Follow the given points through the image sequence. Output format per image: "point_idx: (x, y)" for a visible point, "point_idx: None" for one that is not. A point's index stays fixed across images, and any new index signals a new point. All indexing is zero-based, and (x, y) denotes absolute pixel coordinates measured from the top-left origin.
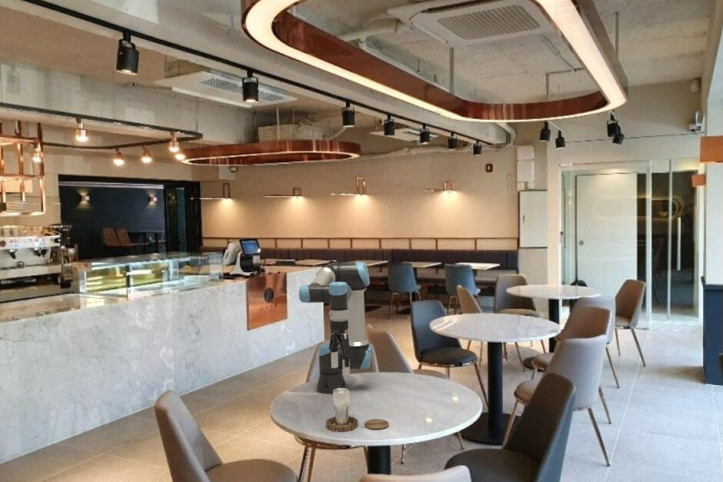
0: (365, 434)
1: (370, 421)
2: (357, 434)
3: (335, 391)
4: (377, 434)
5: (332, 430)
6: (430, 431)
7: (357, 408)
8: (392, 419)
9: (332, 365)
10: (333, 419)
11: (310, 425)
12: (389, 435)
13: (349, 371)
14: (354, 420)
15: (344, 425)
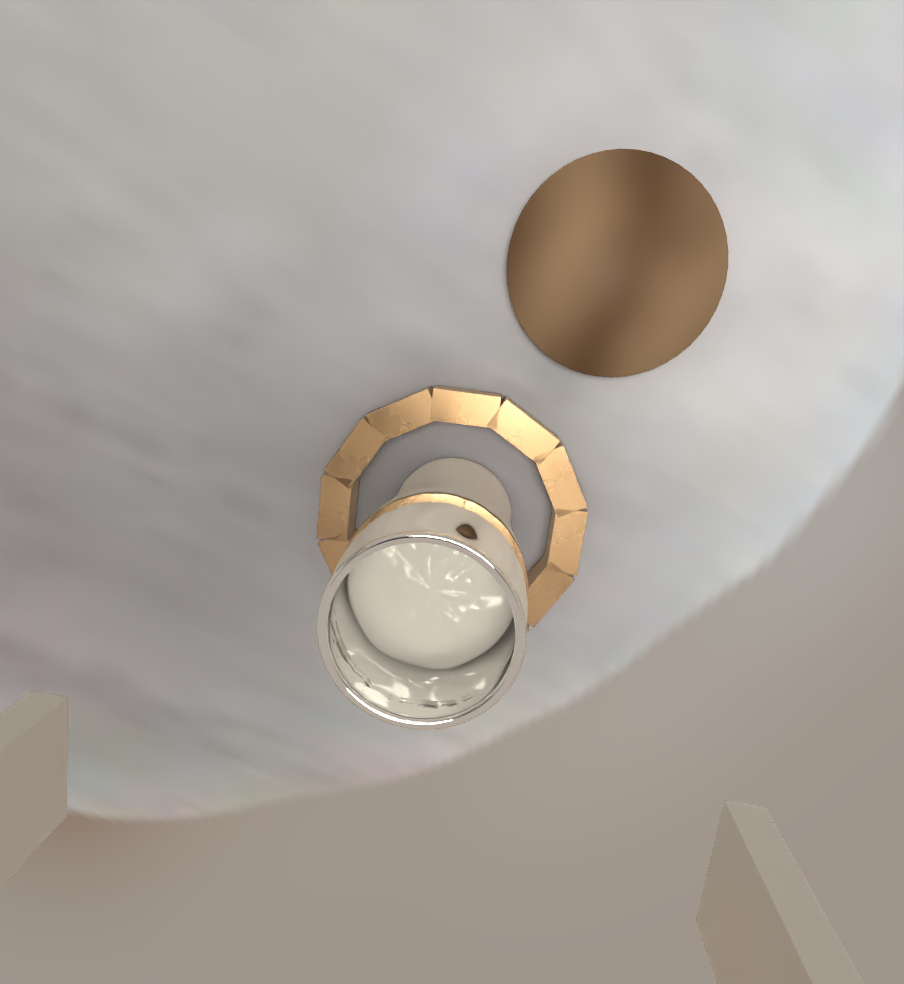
0: (724, 453)
1: (544, 289)
2: (683, 504)
3: (334, 650)
4: (787, 372)
5: None
6: None
7: (116, 176)
8: (562, 45)
9: (32, 843)
10: None
11: (304, 695)
12: (874, 300)
13: (792, 862)
14: (492, 427)
15: (549, 555)
